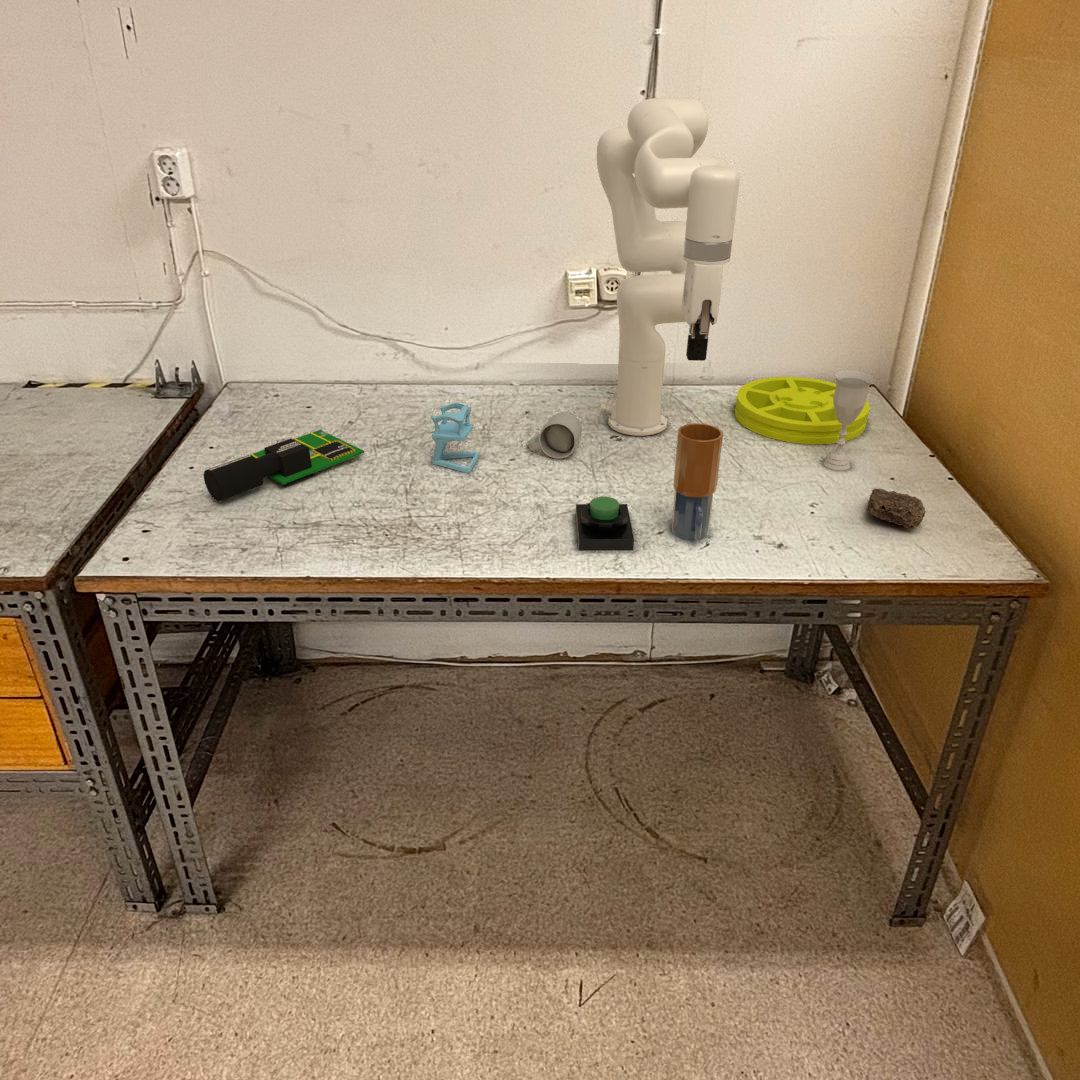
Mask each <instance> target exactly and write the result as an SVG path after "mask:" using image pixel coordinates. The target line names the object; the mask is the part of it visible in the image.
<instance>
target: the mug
mask: <svg viewBox="0 0 1080 1080" xmlns="http://www.w3.org/2000/svg"><path fill="white" fill-rule="evenodd" d="M713 499H714V494H712V495H710V496H707V497H700V498H695V497H688V496H684V495H682V494H680V493H678V492H677V491H675V490H674V495H673V507H672V517H671V518H672V519H671V533H672V535H673V536H674V537H676V538H678V539H680V540H683V541H688V542H689V541H690V542H697V541H701V540H704V539H706V538H707V537H708V536H709V532H710V531H709V530H710V524H711V516H712V510H713V509H712V507H713V501H714V500H713Z"/></svg>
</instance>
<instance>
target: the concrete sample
mask: <svg viewBox="0 0 1080 1080" xmlns="http://www.w3.org/2000/svg"><path fill="white" fill-rule="evenodd" d="M866 512H868V514H869V515H870V516H874V517H875V518H877V519H880V520H883V521H886V522H888V523H894V524H896V525H898V526H903V527H904V528H906V529H913V528H917V527H919V526H920V525H921V523H922V522H923V520H924V517H925V515H926V507H925V506H924V504H923V501H922V500H921V499H919V498H918V497H916V496H912V495H909V494H908V493H901V492H896V491H895V490H892V491H888V490H886V489H883V488H873V490H871V493H870V494H869V500H868V502H867V507H866Z"/></svg>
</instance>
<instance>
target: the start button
mask: <svg viewBox="0 0 1080 1080" xmlns="http://www.w3.org/2000/svg"><path fill="white" fill-rule="evenodd" d="M589 503H590V515H591V516H592V517H593V518H596V519H599V520H611V519H614V518H617V517H618V515H619V504H620V502H619V500H618V499H616V498H614V497H611V496H598V497H597V496H596V497H594V498H593V499H592V500H591V501H590V502H589Z"/></svg>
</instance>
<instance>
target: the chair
mask: <svg viewBox="0 0 1080 1080" xmlns="http://www.w3.org/2000/svg"><path fill="white" fill-rule="evenodd" d="M453 409H456V410H459V411H458V412H454V411H450V410H453ZM439 410H440V411H441V414H439V415H436V416H431V420H432V422H433V424H434V431H433V432H432V433H431V439H432V440H434V442H435V446H434V452H433V456H432V460H431V464H432V465H434V466H435V465H436V466H440V467H444V468H448V469H450V470H453V471H454V470H455V471H458V472H461V473H466V474H469V473H471V471H472V469H473V468H474V466H475V464H476V463H477V462H478V459H479V458H480V452H479V451H461V452H458V451H457V452H445V450H446V449H447V445H448V444H449V443H451V442H463V443H465V441H466V440H467V438H468V436H469V435H470V434H471V432H473V430H474V424H473V423H471V422H470V416H471V412H472V407H470V406H468V405H466V404H464V403H460V402H453V403H450V404H446V405H444V406H439ZM449 421H451V422H449ZM438 422H440V423H438ZM464 458H472V459H471V460H470V461H469V463H468V464H467V465H466V466H465V465H461V464H458V463H455V462H452V461H447V460H449V459H450V460H452V459H464Z"/></svg>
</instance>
